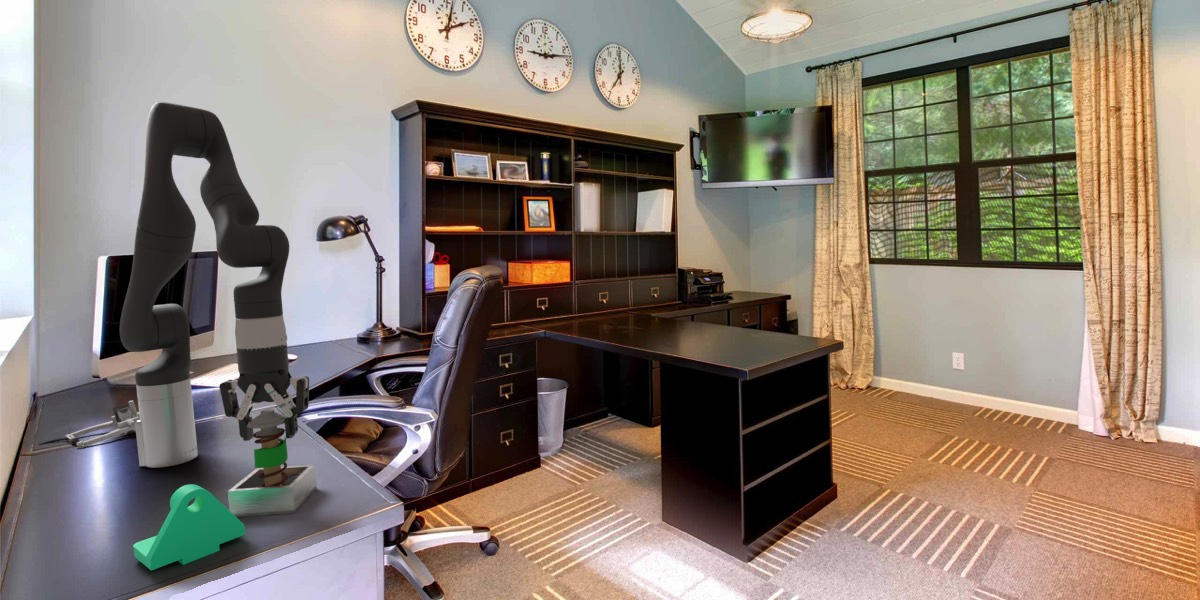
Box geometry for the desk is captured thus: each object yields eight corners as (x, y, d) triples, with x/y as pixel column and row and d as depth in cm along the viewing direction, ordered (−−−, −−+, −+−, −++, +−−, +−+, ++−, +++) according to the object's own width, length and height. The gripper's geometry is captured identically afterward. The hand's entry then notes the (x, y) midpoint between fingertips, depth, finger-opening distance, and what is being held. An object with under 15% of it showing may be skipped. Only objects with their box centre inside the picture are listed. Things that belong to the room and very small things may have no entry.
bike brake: (142, 420, 156) (41, 454, 141) (134, 396, 155) (32, 427, 140) (158, 430, 148) (53, 467, 133) (151, 404, 146) (43, 439, 131)
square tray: (230, 517, 99) (227, 491, 98) (258, 492, 109) (256, 468, 108) (294, 512, 100) (292, 487, 99) (316, 488, 110) (314, 464, 109)
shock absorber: (283, 484, 109) (277, 404, 107) (301, 492, 105) (295, 409, 103) (246, 497, 103) (239, 412, 102) (264, 505, 100) (256, 418, 98)
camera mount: (224, 528, 95) (218, 466, 94) (245, 541, 91) (240, 476, 90) (132, 561, 86) (125, 493, 85) (152, 578, 81) (144, 505, 80)
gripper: (204, 348, 97) (214, 448, 99) (297, 344, 99) (304, 443, 100) (228, 341, 105) (236, 433, 106) (314, 337, 106) (320, 429, 108)
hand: (269, 437), depth 103 cm, fingers closed on shock absorber, 6 cm apart
